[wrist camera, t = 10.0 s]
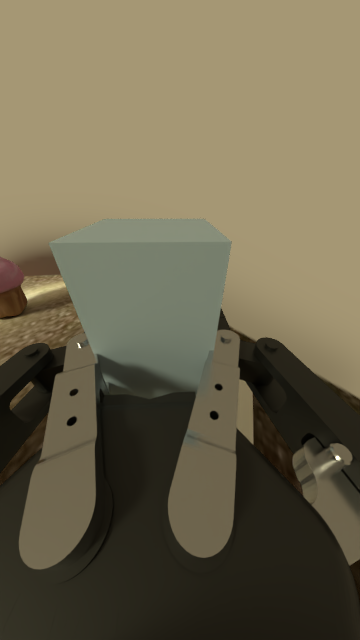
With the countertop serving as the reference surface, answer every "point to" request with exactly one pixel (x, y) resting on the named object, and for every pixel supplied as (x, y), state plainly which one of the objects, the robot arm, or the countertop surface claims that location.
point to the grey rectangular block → (147, 298)
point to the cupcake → (11, 289)
